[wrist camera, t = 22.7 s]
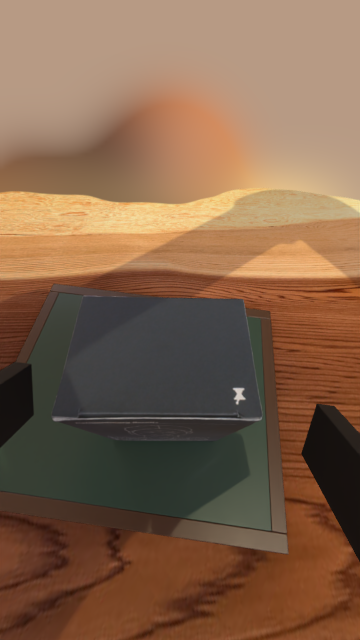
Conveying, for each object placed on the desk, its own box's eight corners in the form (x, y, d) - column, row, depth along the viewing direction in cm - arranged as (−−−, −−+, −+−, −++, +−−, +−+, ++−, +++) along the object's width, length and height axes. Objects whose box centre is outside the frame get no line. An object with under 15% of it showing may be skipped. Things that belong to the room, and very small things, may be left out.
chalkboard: (266, 315, 25) (270, 310, 24) (282, 549, 16) (289, 555, 15) (57, 289, 25) (52, 282, 24) (-43, 500, 16) (-56, 502, 15)
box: (212, 367, 21) (247, 295, 11) (216, 442, 18) (268, 425, 9) (119, 366, 20) (79, 290, 11) (109, 441, 17) (43, 422, 8)
